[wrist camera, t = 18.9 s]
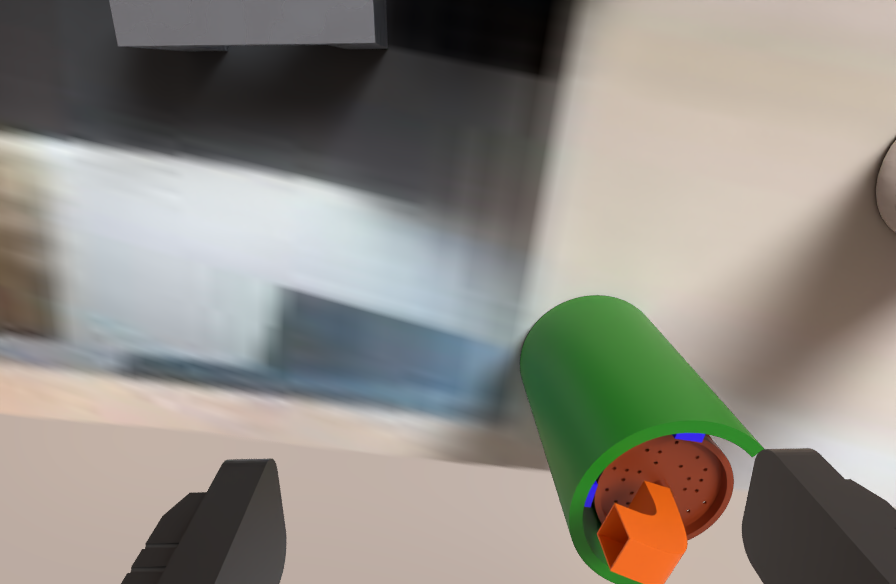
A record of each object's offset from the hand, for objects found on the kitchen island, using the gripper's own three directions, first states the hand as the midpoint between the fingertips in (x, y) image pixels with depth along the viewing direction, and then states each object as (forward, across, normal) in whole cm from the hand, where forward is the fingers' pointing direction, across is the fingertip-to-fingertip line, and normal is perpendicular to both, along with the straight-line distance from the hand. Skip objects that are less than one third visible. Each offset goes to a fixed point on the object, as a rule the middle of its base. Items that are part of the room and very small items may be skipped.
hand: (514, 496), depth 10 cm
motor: (+30, -9, +13) cm, 34 cm away
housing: (+30, +10, -10) cm, 33 cm away
